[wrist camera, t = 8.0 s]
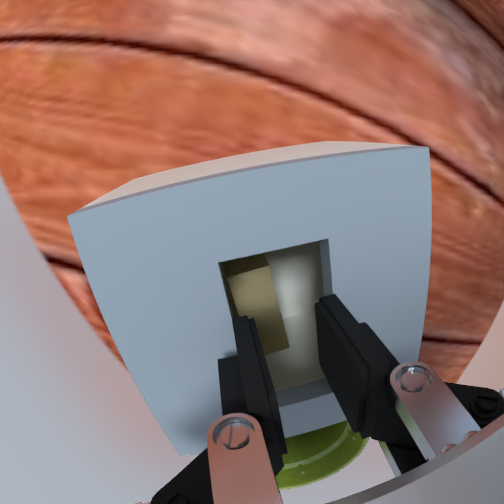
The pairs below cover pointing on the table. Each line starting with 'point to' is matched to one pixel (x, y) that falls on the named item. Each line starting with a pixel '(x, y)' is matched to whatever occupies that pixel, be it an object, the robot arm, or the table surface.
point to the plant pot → (318, 454)
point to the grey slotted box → (280, 262)
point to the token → (257, 299)
